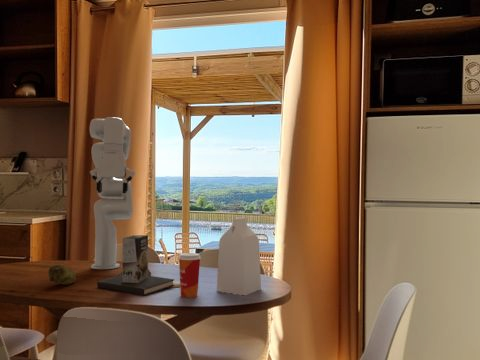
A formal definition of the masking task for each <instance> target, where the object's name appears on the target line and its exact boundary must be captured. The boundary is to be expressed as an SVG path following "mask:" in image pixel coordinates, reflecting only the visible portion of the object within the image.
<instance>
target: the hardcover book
mask: <svg viewBox="0 0 480 360" xmlns="http://www.w3.org/2000/svg"><path fill="white" fill-rule="evenodd" d="M173 282H175V279H174V278H167V277H160V276H154V275H151V276H148V278H147V279H145V280H143V281H141V282H139V283H126V282H123V275H119V274H118V275H116V276H112V277H108V278H106V279H102V280H98V281H97V283H96V285H97V288H101V289H107V290H112V291H118V292H123V293H128V294H134V295H141V296H149V295H150V294H154V293H156V292H159V291H163V290H165V289H168V288H171V286H174V285H173Z"/></svg>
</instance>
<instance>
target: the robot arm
mask: <svg viewBox="0 0 480 360" xmlns="http://www.w3.org/2000/svg"><path fill="white" fill-rule="evenodd" d="M89 135H90V137H91V138H92V139H96V140H101V142H96V143H94V144H92V146H91V158H92V161H93V165H94V167H95V168H93V169H92V170H89V174H90V175H91V178H92V179H93V181H95V183H96V192H97V195H98V197H99V198H101V199H98V200H96V201H95V202H94V204H93V213H94V223H95V225H94V226H95V227H94V228H95V229H94V231H95V236H94V239H95V240H94V263H92V264H91V265H90V268H91V269H93V270H111V269H117V268H120V263H118V262H117V243H118V242H117V240H118V238H117V237H118V233H117V231H118V229H117V227H116V225H115V224H114V222H112V221H113V220H129V219H130V218H132V216H133V213H134V202H133V187H132V182H131V181H132V179H133V178H134V176H135V174H136V172H135V171H134V170H133V169H130V168H128V167H127V160H128V159H129V157H130V150H131V141H132V132H131V129H130V127H128V126H127V124H125V122H124V120H123V119H122V118H120V117H114V116H108V117H105V118H93V119H91V120H90V124H89ZM127 173H129V176H128V177H127Z"/></svg>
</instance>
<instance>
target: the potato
mask: <svg viewBox="0 0 480 360" xmlns="http://www.w3.org/2000/svg"><path fill="white" fill-rule="evenodd" d="M47 271H48V277H49V281H50V282H54V283H57V284H61V285H64V286H66V285H71V284H73V283H74V282H75V280H76V279H77V276H76V272H75V271H74V270H72V269H70V268H68V267H67V266H66V265H63V264H55V265H52V266H51V267H49V268H48V270H47Z"/></svg>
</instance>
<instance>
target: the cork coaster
mask: <svg viewBox="0 0 480 360" xmlns="http://www.w3.org/2000/svg"><path fill="white" fill-rule="evenodd" d="M173 285H174V286H171V287H170V288H175V289H176V288H180V281H173Z"/></svg>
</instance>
